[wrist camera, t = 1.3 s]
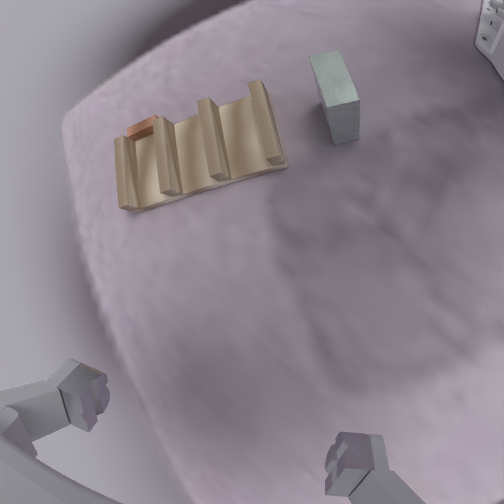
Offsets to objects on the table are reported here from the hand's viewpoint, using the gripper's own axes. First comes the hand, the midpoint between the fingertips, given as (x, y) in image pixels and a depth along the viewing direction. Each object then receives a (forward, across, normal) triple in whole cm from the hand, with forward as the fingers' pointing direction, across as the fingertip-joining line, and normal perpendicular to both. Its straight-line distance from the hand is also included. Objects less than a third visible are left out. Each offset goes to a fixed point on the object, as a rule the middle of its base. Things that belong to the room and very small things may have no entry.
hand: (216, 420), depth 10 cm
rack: (+33, +12, -6) cm, 36 cm away
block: (+32, -5, -14) cm, 35 cm away
